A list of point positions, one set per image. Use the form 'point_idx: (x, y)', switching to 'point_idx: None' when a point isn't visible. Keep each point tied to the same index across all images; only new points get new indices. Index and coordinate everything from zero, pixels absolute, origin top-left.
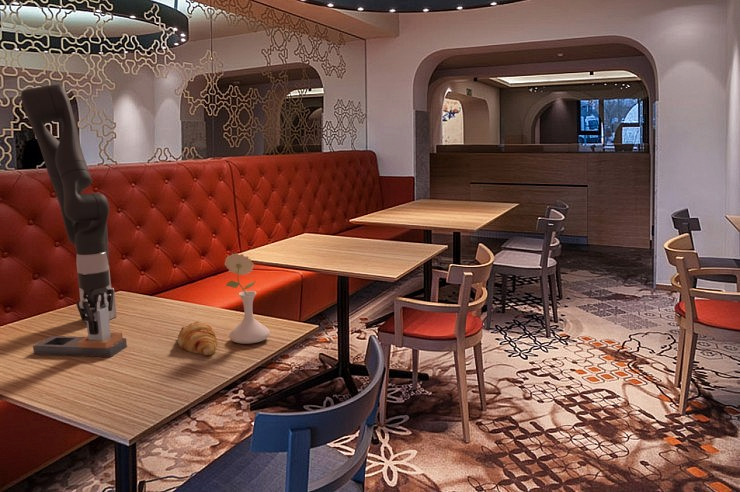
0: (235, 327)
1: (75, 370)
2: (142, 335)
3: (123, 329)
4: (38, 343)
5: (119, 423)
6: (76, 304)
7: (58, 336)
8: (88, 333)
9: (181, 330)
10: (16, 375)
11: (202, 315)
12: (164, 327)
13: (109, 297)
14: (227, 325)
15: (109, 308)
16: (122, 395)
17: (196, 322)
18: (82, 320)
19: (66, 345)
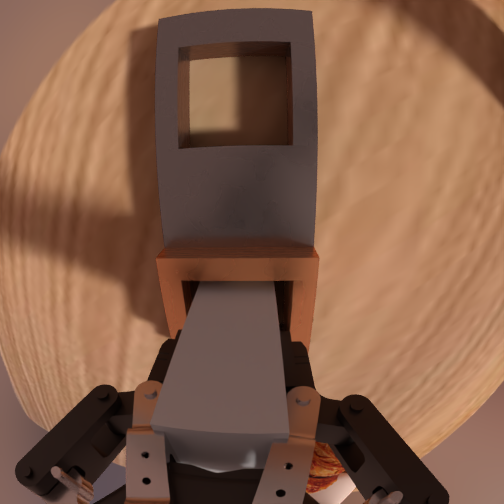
0: (324, 493)
1: (81, 295)
2: (406, 331)
3: (473, 234)
4: (191, 17)
5: (31, 410)
6: (17, 463)
7: (308, 41)
8: (189, 314)
9: (312, 466)
10: (20, 147)
11: (497, 366)
12: (456, 345)
13: (369, 497)
14: (417, 434)
15: (329, 445)
16: (63, 407)
17: (314, 492)
18: (98, 387)
19: (175, 173)
